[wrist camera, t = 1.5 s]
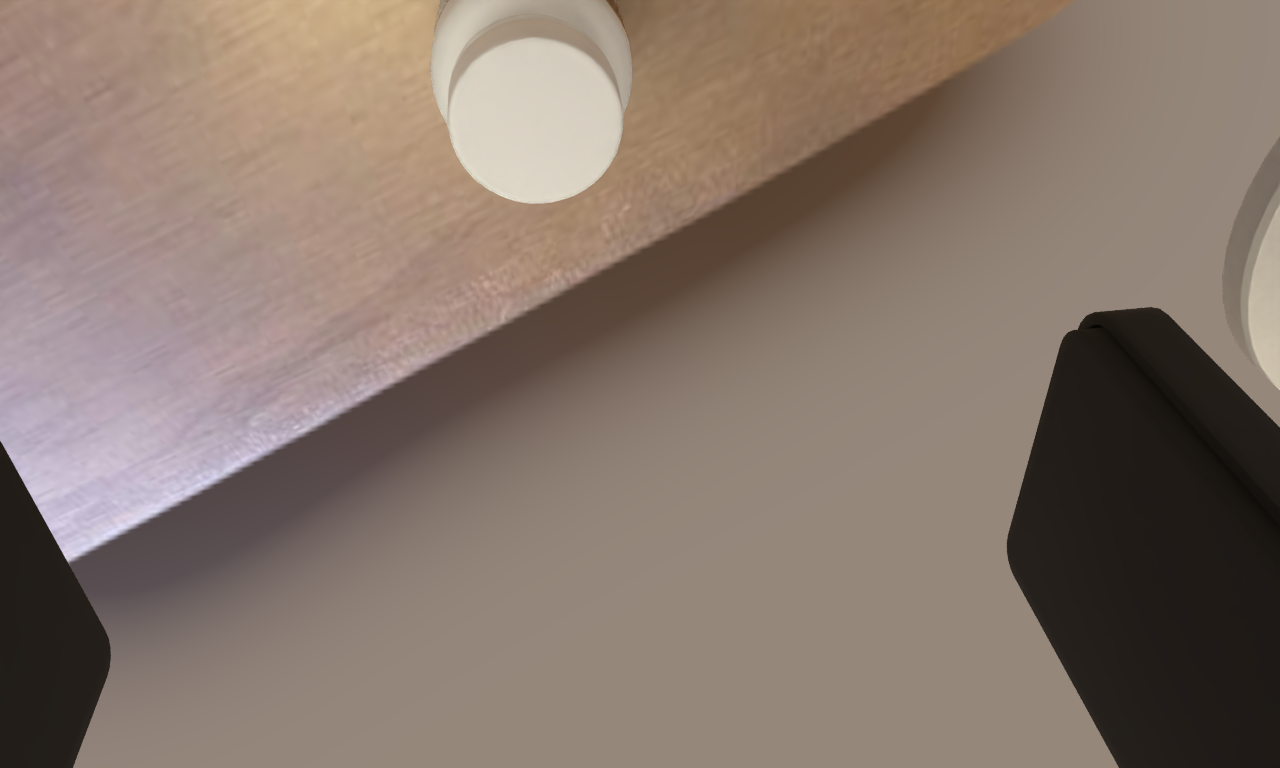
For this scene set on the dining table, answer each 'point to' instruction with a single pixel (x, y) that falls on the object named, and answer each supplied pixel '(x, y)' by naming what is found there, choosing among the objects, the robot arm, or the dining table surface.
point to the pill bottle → (532, 92)
